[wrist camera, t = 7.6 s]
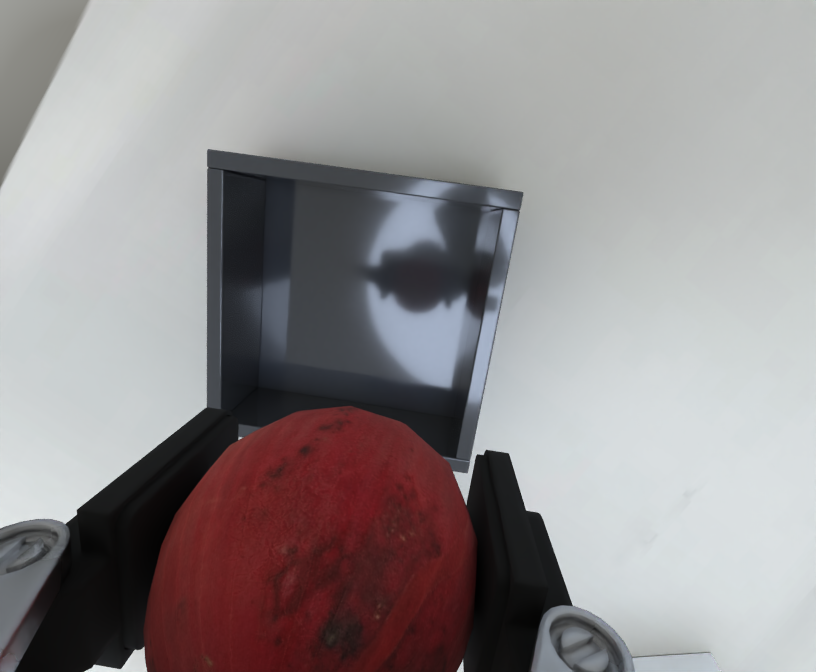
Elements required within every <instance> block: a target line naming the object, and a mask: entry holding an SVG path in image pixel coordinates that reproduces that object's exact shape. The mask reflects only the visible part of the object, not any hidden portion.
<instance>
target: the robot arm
mask: <svg viewBox="0 0 816 672" xmlns="http://www.w3.org/2000/svg"><path fill="white" fill-rule="evenodd" d="M238 431H239V422H238V418H237V417H233V414H232V412H231V411H230V410H223V409H217V408H210V407H207V408H205V409H204V410H203V411H201V412H200V413H199V414H198V415H196V416H195V417H194V418H193V419H191V420H190V421H189V422H187V423H186V424H185V425H184V426H182V427H181V428H180V429H179V430H177V431H176V432H175V433H174V434H172V435H171V436H170V437H168V438H167V439H166V440H165V441H163V442H162V443H161V444H160V445H158V446H157V447H156V448H155V449H153V450H152V451H151V452H150V453H148V454H147V455H146V456H144V457H143V458H142V459H141V460H139V461H138V462H137V463H136V464H134V465H133V466H132V467H131V468H129V469H128V470H127V471H126V472H124V473H123V474H122V475H120V476H119V477H118V478H117V479H115V480H114V481H113V482H112V483H110V484H109V485H108V486H107V487H105V488H104V489H103V490H101V491H100V492H99V493H98V494H96V495H95V496H94V497H93V498H91V499H90V500H89V501H88V502H86V503H85V504H84V505H83V506H81V507H80V508H79V509H77V515H76V516H75V517H74V518H72V519H71V520H70V521H69V522H67V523H66V524H64V523H62V522H60V521H56V520H52V519H35V520H29V521H23V522H19V523H16V524H12V525H9V526H6V527H3V528H1V529H0V672H84V671H86V670H88V669H90V668H92V667H93V665H94V664H95V665H100V666H106V667H112V668H117V669H121V668H122V667H123V665H124V664H125V662H126V661H127V660H128V658H129V657H130V655H131V654H132V653H133V651H134V650H135V649H136V650H140V649H142V648H143V647H144V631H143V630H144V623H145V616H146V609H147V602H148V596H149V592H150V588H151V584H152V580H153V576H154V573H155V569H156V565H157V561H158V557H159V553H160V549H161V545H162V543H163V541H164V538H165V536H166V534H167V532H168V529H169V527H170V525H171V523H172V520H173V518H174V516H175V514H176V512H177V511H178V510H179V508H180V507H181V506H182V504H183V503H184V502H185V500H186V499H187V498H188V496H189V495H190V493H191V492H192V491H193V489H194V488H195V487H196V485H197V484H198V483H199V482H200V480H201V479H202V478H203V477H204V475H205V474H206V473H207V471H208V470H209V469H210V468H211V467H212V465H213V464H214V463H215V462H216V461H217V460H218V458H219V457H220V456H221V455H222V454H223V452H224V451H225V450H226V449H227V448H228V447H229V446H230V445H231V444H233V443H235V442H237V441H238ZM466 506H467V509H468V512H469V515H470V518H471V521H472V525H473V528H474V531H475V534H476V538H477V541H478V546H477V569H476V588H475V604H474V620H473V629H472V632H471V635H470V638H469V642H468V645H467V648H466V651H465V654H464V657H463V663H464V672H635V668H634V664H633V660H632V656H631V654H630V652H629V650H628V648H627V646H626V644H625V642H624V641H623V640H622V639H621V637H620V636H619V635H618V634H617V633H616V631H615V630H614V629H613V628H612V627H610V626H609V625H608V624H607V623H606V622H605V621H603V620H602V619H601V618H599V617H597V616H596V615H594V614H592V613H590V612H589V611H587V610H584V609H581V608H578V607H575V606H573V605H572V603H571V600H570V597H569V594H568V591H567V588H566V585H565V582H564V579H563V577H562V574H561V571H560V568H559V565H558V562H557V559H556V556H555V553H554V550H553V548H552V545H551V542H550V539H549V536H548V533H547V530H546V527H545V524H544V521H543V519H542V517H541V515H540V514H539V513H537V512H530V511H526V509H525V506H524V503H523V499H522V496H521V493H520V489H519V486H518V482H517V479H516V476H515V472H514V469H513V466H512V462H511V459H510V456H509V454H508V453H503V452H496V451H490V450H486V451H485V453H484V455H478V454H477V456H476V459H475V464H474V469H473V474H472V479H471V485H470V490H469V495H468V500H467V505H466Z"/></svg>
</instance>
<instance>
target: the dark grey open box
mask: <svg viewBox="0 0 816 672" xmlns="http://www.w3.org/2000/svg"><path fill="white" fill-rule="evenodd" d="M207 166H208V169H207V407H210V408H217V409H223V410H230V411H231V412H232V414H233V417H237V418H238V422H239V431H238V437H245V436H247V435H249V434H251V433H252V432H254V431H256V430H258V429H260V428H263V427H265V426H267V425H269V424H271V423H273V422H275V421H278V420H280V419H282V418H284V417H286V416H288V415H290V414H292V413H295V412H297V411H304V410H314V409H324V408H334V407H344V406H352V407H356V408H359V409H362V410H365V411H368V412H371V413H375V414H378V415H381V416H384V417H387V418H390V419H394V420H397V421H400V422H402V423H404V424H406V425H407V426H408V427H409V428H411V429H412V430H413V431H414V432H415V433H416V434H417V435H418V436H419V437H421V438H422V439H423V440H424V441H425V442H426V443H427V444H428V445H430V446H431V447H432V448H433V449H434V450H435V451H436V452H437V453H438V454H440V455H441V456H442V457H443V458H444V459H445V460H446V461H447V462H449V463H450V466H451V468H452V471H455V472H462V473H468V469H469V464H470V459H471V454H472V449H473V444H474V439H475V434H476V429H477V424H478V419H479V414H480V409H481V404H482V399H483V394H484V389H485V384H486V379H487V374H488V369H489V364H490V359H491V354H492V349H493V344H494V338H495V333H496V328H497V323H498V318H499V313H500V308H501V303H502V298H503V293H504V288H505V283H506V278H507V273H508V268H509V263H510V258H511V253H512V248H513V243H514V238H515V233H516V228H517V223H518V218H519V213H520V211H519V210H520V208H521V203H522V198H523V192H520V191H512V190H505V189H498V188H490V187H483V186H476V185H468V184H461V183H454V182H446V181H439V180H431V179H424V178H417V177H409V176H402V175H395V174H387V173H380V172H373V171H365V170H358V169H351V168H343V167H336V166H329V165H321V164H314V163H306V162H299V161H292V160H284V159H277V158H270V157H262V156H255V155H248V154H240V153H233V152H226V151H218V150H211V149H208V150H207Z"/></svg>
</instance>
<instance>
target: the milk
mask: <svg viewBox="0 0 816 672" xmlns="http://www.w3.org/2000/svg"><path fill="white" fill-rule="evenodd" d="M632 660H633V664H634V668H635V672H722V671H721V669H720V668H719V666H718V664H717V662H716V661H715V659H714V657H713V655H712V654H711V653H697V654H681V655H666V656H651V657H635V658H632Z"/></svg>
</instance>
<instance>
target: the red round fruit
mask: <svg viewBox="0 0 816 672" xmlns="http://www.w3.org/2000/svg"><path fill="white" fill-rule="evenodd" d="M477 546H478V541H477V538H476V534H475V531H474V528H473V525H472V521H471V518H470V515H469V512H468V509H467V506H466V504H465V501H464V499H463V496H462V494H461V491H460V489H459V486H458V484H457V481H456V479H455V476H454V474H453V471H452V468H451V466H450V463H449V462H447V461H446V460H445V459H444V458H443V457H442V456H441V455H440V454H438V453H437V452H436V451H435V450H434V449H433V448H432V447H431V446H430V445H428V444H427V443H426V442H425V441H424V440H423V439H422V438H421V437H419V436H418V435H417V434H416V433H415V432H414V431H413V430H412V429H411V428H409V427H408V426H407V425H406V424H404V423H402V422H400V421H397V420H394V419H390V418H387V417H384V416H381V415H378V414H375V413H371V412H368V411H365V410H362V409H359V408H356V407H352V406H344V407H334V408H324V409H314V410H304V411H297V412H295V413H292V414H290V415H288V416H286V417H284V418H282V419H280V420H278V421H275V422H273V423H271V424H269V425H267V426H265V427H263V428H260V429H258V430H256V431H254V432H252V433H251V434H249V435H247V436H245V437H244V438H242V439H240V440H238V441H237V442H235V443H233V444H231V445H230V446H229V447H228V448H227V449H226V450H225V451H224V452H223V454H222V455H221V456H220V457H219V458H218V460H217V461H216V462H215V463H214V464H213V465H212V467H211V468H210V469H209V470H208V471H207V473H206V474H205V475H204V477H203V478H202V479H201V480H200V482H199V483H198V484H197V485H196V487H195V488H194V489H193V491H192V492H191V493H190V495H189V496H188V498H187V499H186V500H185V502H184V503H183V504H182V506H181V507H180V508H179V510H178V511H177V512H176V514H175V516H174V518H173V520H172V523H171V525H170V527H169V529H168V532H167V534H166V536H165V538H164V541H163V543H162V545H161V549H160V553H159V557H158V561H157V565H156V569H155V573H154V576H153V580H152V584H151V588H150V592H149V596H148V602H147V609H146V616H145V623H144V630H143V631H144V646H145V660H146V667H147V672H457V670H458V668H459V666H460V664H461V662H462V660H463V657H464V654H465V651H466V648H467V645H468V642H469V638H470V635H471V632H472V629H473V620H474V604H475V588H476V569H477Z"/></svg>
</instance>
